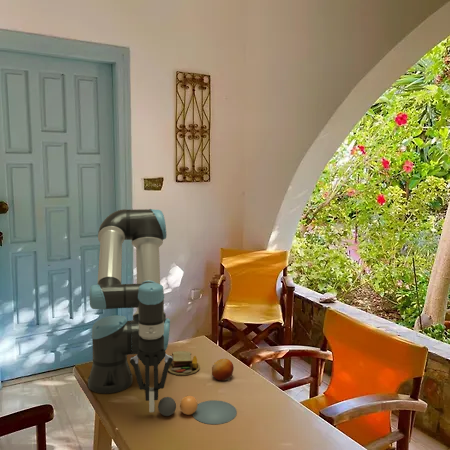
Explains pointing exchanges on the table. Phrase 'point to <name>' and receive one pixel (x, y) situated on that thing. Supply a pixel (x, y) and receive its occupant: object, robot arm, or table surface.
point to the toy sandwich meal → (183, 363)
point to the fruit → (222, 369)
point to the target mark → (214, 412)
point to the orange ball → (188, 405)
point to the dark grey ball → (167, 406)
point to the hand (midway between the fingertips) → (151, 409)
